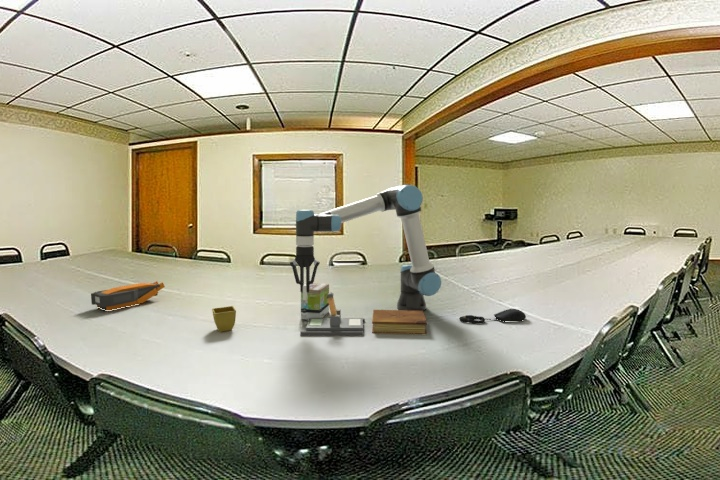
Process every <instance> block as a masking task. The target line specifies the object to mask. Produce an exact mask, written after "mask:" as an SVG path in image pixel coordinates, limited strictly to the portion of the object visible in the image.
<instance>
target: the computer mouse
mask: <svg viewBox="0 0 720 480" xmlns="http://www.w3.org/2000/svg"><path fill="white" fill-rule="evenodd" d="M493 316H494V318H495V317H496V318H495V319H498V320H501V321H504V322H503V323H506V322H505V321H521V322H523V321H522V320H524V321H525V320H526V318H527V315H526V313H525V312H523V311H522V310H520V309H517V308H508V309H505V310H502V311H499V312H497V313H495V314H493ZM491 319H492V318H485V317H484V316H477V315H472V314H469V315H468V314H467V315H463V316H460V317H459V321H460V322H462V321H463V322H462V323H467V322H469V324H475V323H482V324H484V323H485V321H486V320H489V321H492V320H491ZM498 320H497V321H498ZM501 321H500V322H501ZM483 322H484V323H483Z"/></svg>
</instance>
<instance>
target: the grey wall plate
mask: <svg viewBox="0 0 720 480" xmlns="http://www.w3.org/2000/svg"><path fill="white" fill-rule="evenodd" d="M362 318H363V317H362ZM309 319H310V318H309ZM309 319H307V323H308V322H309ZM365 320H366V319H365V318H363V323H365ZM299 335H300V336H301V337H302V336H303V337H305V336H307V337H308V336H309V337H310V336H311V337H312V336H314V337H315V336H316V337H317V336H319V337H320V336H321V337H324V336H333V337H335V336H340V337H341V336H345V337H346V336H349V337H352V336H353V337H354V336H358V337H359V336H364V330H363V331H306V330H305V331H304V330H301V331H300V334H299Z"/></svg>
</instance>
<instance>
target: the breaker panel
mask: <svg viewBox="0 0 720 480" xmlns="http://www.w3.org/2000/svg"><path fill="white" fill-rule="evenodd" d="M336 311H337V315H331V314H329V317H322V318H310V319H309V322H308V321H307V324H306V327H305V331H363V332H364V322H363V317H342V316H341V315H342V314H341V309H340V308H339V309H338V308H336Z"/></svg>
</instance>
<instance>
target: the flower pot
mask: <svg viewBox="0 0 720 480" xmlns="http://www.w3.org/2000/svg"><path fill="white" fill-rule="evenodd" d="M211 310H212V316H213V322H214V324H215V327H216V328H217V331H218V332H219V333H222V332H227V331H228V332H229V331H232V330H233V328H234V327H235V325H236V324H235V323H236V315H237V309H236V308H235V307H234V306H233V305H231V306H223V307H215V308H212V309H211Z"/></svg>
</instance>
